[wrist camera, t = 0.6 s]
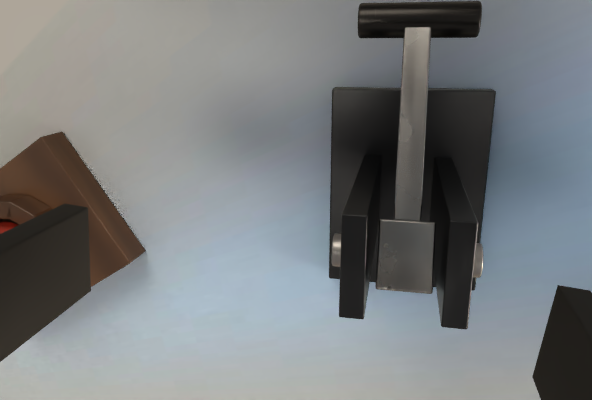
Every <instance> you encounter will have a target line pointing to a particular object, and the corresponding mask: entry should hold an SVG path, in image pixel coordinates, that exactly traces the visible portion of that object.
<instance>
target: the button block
mask: <svg viewBox="0 0 592 400" xmlns="http://www.w3.org/2000/svg"><path fill="white" fill-rule="evenodd" d="M62 204H71V205H77V206H83V207H88V220H89V250H90V279H91V287H92V286H93V285H95V284H97V283H98V282H100V281H102V280H103V279H105V278H106V277H108V276H110V275H111V274H113V273H115V272H116V271H118V270H120V269H121V268H123V267H125V266H126V265H128V264H129V263H131V262H132V261H133V260H135V259H136V258H137V257H139V256H140V255H141V254H142V253H144V252H145V250H144V248H143V247H142V245H141V244H140V242H139V241H138V240H137V238H136V237H135V235H134V234H133V232H132V231H131V230H130V228H129V227H128V225H127V224H126V222H125V221H124V220H123V218H122V217H121V215H120V214H119V212H118V211H117V210H116V208H115V207H114V205H113V204H112V202H111V201H110V200H109V198H108V197H107V195H106V194H105V192H104V191H103V190H102V188H101V187H100V185H99V184H98V182H97V181H96V180H95V178H94V177H93V175H92V174H91V172H90V171H89V170H88V168H87V167H86V165H85V164H84V162H83V161H82V160H81V158H80V157H79V155H78V154H77V152H76V151H75V150H74V148H73V147H72V145H71V144H70V142H69V141H68V140H67V138H66V137H65V135H64V134H63V132H59V133H55V134H51V135H47V136H43V137H40V138H39V139H38V140H37V141H35V142H34V143H33V144H31V145H30V146H29V147H28V148H26V149H25V150H24V151H22V152H21V153H20V154H19V155H17V156H16V157H15V158H13V159H12V160H11V161H9V162H8V163H7V164H6V165H4V166H3V167H2V168H0V222H12V223H15V224H18V225H20V224H22V223H24V222H26V221H29V220H31V219H33V218H35V217H37V216H39V215H41V214H43V213H46V212H48V211H50V210H52V209H54V208H56V207H58V206H60V205H62Z"/></svg>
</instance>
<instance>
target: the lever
mask: <svg viewBox="0 0 592 400" xmlns="http://www.w3.org/2000/svg"><path fill="white" fill-rule="evenodd" d="M481 16H482V4H481V2H480V1H455V2H401V3H361V4H360V5H359V11H358V36H359V38H404V42H403V60H402V78H401V95H400V113H399V131H398V149H397V167H396V185H395V202H394V220H390V219H380V220H379V236H378V253H377V270H376V289H380V290H392V291H403V292H415V293H426V294H431V293H432V292H433V272H434V253H435V234H436V223H435V222H423V221H421V210H422V192H423V173H424V154H425V135H426V116H427V98H428V79H429V60H430V41H431V38H475V37H477V36H478V34H479V31H480V25H481Z"/></svg>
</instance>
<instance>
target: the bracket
mask: <svg viewBox="0 0 592 400" xmlns="http://www.w3.org/2000/svg"><path fill="white" fill-rule="evenodd" d="M400 95H401V88H370V87H335V88H333V90H332V136H331V194H330V253H329V278H334V279H340V299H339V317H345V318H355V319H364V314H365V308H366V301H367V295H368V289H369V282H376V270H377V253H378V236H379V220H380V219H390V220H394V202H395V185H396V167H397V149H398V131H399V113H400ZM495 95H496V92H495V91H494V90H492V89H448V88H428V98H427V116H426V135H425V154H424V173H423V192H422V210H421V221H423V222H435V223H436V234H435V253H434V272H433V287H436V289H437V297H438V305H439V313H440V322H441V326H442V327H448V328H458V329H467V328H468V319H469V309H470V300H471V290H475V285H476V278H479V277H480V276H481V274H482V269H483V247H482V244H481V243H480V238H481V228H482V219H483V209H484V200H485V190H486V181H487V171H488V162H489V152H490V143H491V133H492V124H493V114H494V104H495Z"/></svg>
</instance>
